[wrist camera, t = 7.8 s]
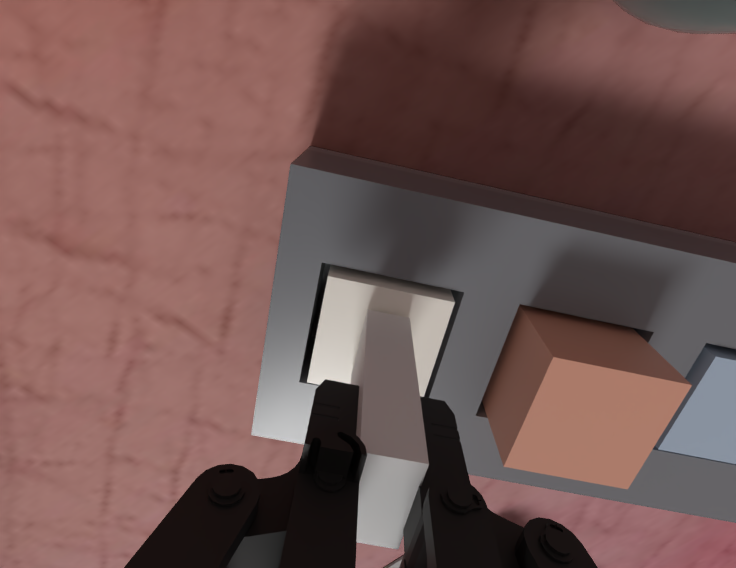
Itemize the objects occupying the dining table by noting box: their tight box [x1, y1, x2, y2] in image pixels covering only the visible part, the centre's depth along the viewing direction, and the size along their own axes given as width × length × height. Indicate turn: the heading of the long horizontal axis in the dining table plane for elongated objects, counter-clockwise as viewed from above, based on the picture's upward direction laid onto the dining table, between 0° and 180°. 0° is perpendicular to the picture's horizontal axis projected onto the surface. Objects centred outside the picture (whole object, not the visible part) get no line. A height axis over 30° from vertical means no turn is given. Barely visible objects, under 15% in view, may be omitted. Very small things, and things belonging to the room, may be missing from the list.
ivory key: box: [307, 265, 455, 397], centre depth 18 cm, size 4×4×4 cm
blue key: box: [655, 343, 736, 464], centre depth 19 cm, size 4×4×4 cm
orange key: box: [482, 305, 692, 489], centre depth 16 cm, size 4×4×4 cm
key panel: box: [251, 146, 736, 523], centre depth 19 cm, size 22×11×4 cm, turn 78°
